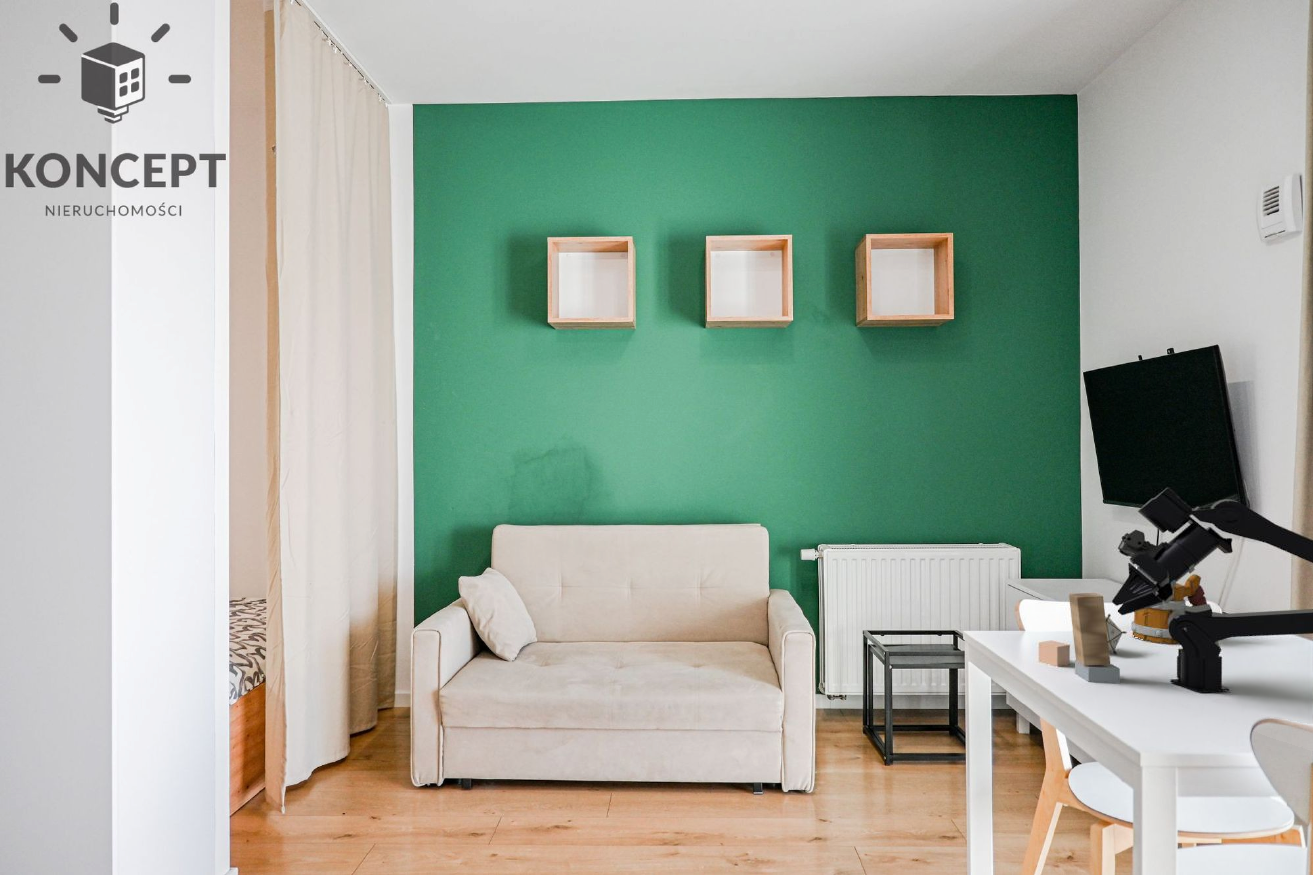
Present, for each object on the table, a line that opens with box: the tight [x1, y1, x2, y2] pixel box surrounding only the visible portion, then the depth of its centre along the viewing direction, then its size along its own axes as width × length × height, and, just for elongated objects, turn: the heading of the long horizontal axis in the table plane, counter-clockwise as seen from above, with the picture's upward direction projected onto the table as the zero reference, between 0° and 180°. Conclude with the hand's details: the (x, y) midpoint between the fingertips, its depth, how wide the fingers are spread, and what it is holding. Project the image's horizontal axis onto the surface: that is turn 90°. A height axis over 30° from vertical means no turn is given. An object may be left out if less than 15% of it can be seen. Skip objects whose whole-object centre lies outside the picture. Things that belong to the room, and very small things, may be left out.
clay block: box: [1038, 640, 1071, 667], centre depth 158 cm, size 4×4×4 cm
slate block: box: [1074, 659, 1121, 684], centre depth 147 cm, size 6×6×3 cm
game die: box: [1105, 613, 1128, 655], centre depth 167 cm, size 9×8×10 cm
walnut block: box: [1068, 592, 1112, 666], centre depth 148 cm, size 4×4×12 cm
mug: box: [1130, 573, 1208, 645], centre depth 180 cm, size 11×16×15 cm, turn 88°
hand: (1116, 608), depth 147 cm, fingers open, 9 cm apart
